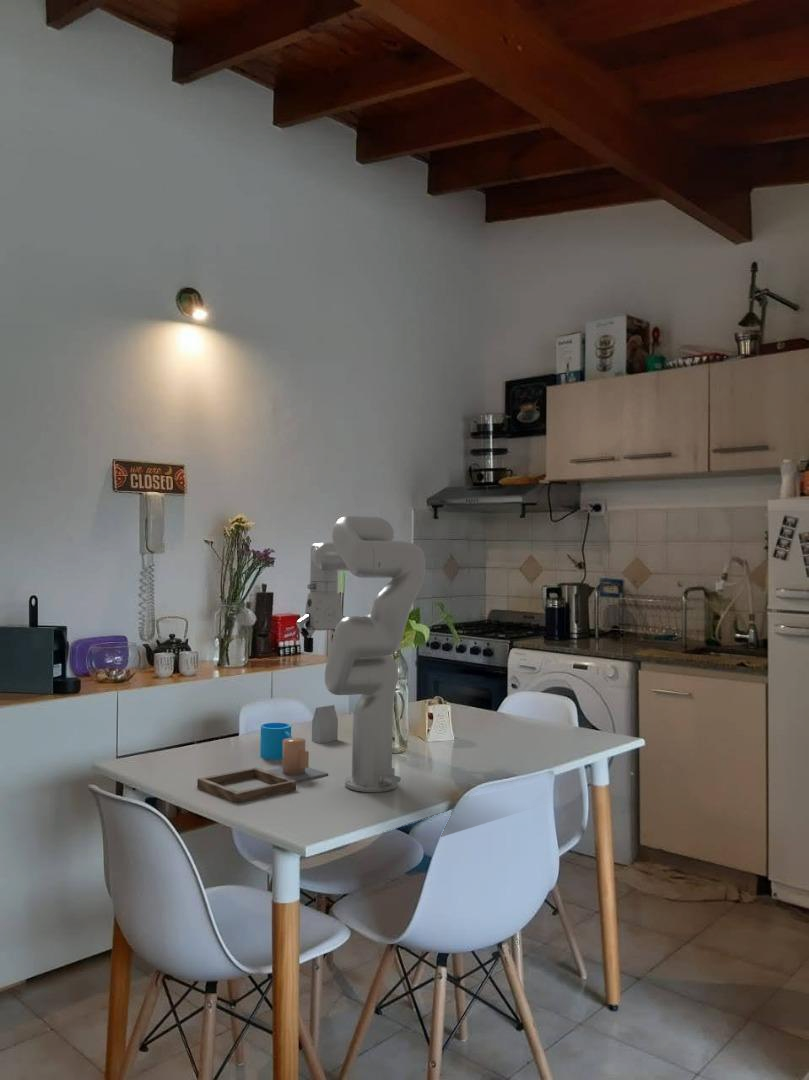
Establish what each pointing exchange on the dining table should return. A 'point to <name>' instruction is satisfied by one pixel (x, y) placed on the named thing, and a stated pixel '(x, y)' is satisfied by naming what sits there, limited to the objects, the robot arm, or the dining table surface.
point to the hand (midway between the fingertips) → (322, 650)
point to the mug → (273, 739)
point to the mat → (308, 774)
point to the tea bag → (325, 724)
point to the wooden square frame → (278, 786)
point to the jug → (295, 756)
